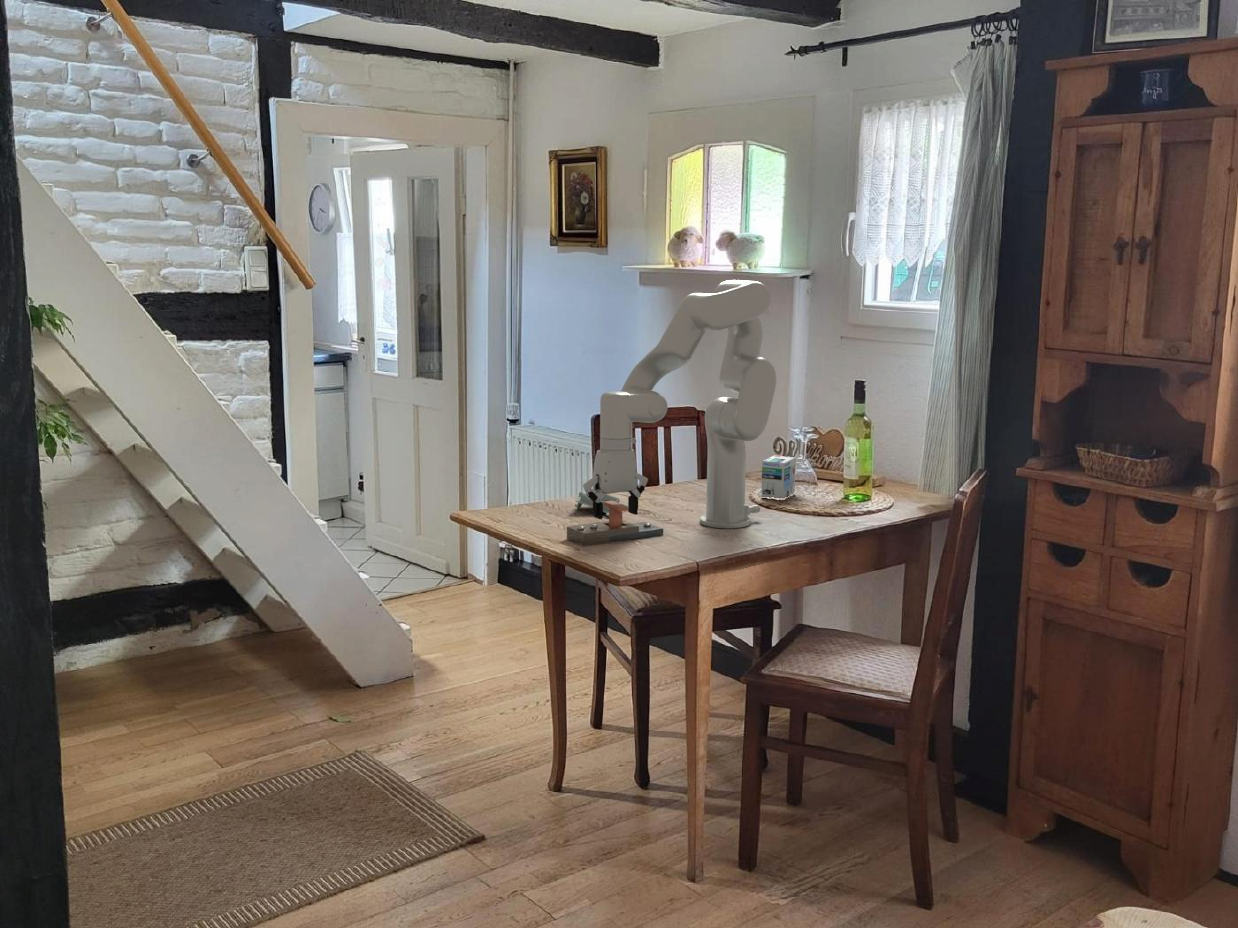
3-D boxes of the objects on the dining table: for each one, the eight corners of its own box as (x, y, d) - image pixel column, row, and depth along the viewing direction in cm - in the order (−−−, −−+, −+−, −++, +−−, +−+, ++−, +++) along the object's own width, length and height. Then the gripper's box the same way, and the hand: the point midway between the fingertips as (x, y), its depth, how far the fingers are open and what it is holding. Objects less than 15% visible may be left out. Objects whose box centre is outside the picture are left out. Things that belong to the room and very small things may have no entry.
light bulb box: (783, 501, 309) (785, 462, 307) (760, 499, 312) (761, 460, 310) (795, 494, 319) (796, 456, 317) (772, 492, 322) (773, 454, 320)
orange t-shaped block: (613, 532, 273) (613, 500, 272) (629, 539, 267) (629, 506, 266) (602, 534, 272) (602, 501, 270) (617, 540, 266) (617, 507, 264)
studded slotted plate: (645, 527, 279) (645, 513, 278) (663, 534, 272) (663, 520, 271) (566, 538, 267) (566, 524, 266) (583, 546, 260) (583, 531, 260)
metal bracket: (571, 494, 290) (588, 483, 304) (564, 515, 292) (582, 503, 306) (622, 513, 287) (637, 501, 301) (616, 534, 289) (631, 521, 303)
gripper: (638, 439, 273) (637, 508, 276) (576, 445, 264) (576, 516, 267) (655, 443, 267) (654, 514, 270) (592, 450, 258) (592, 523, 261)
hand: (615, 515), depth 269 cm, fingers open, 9 cm apart
